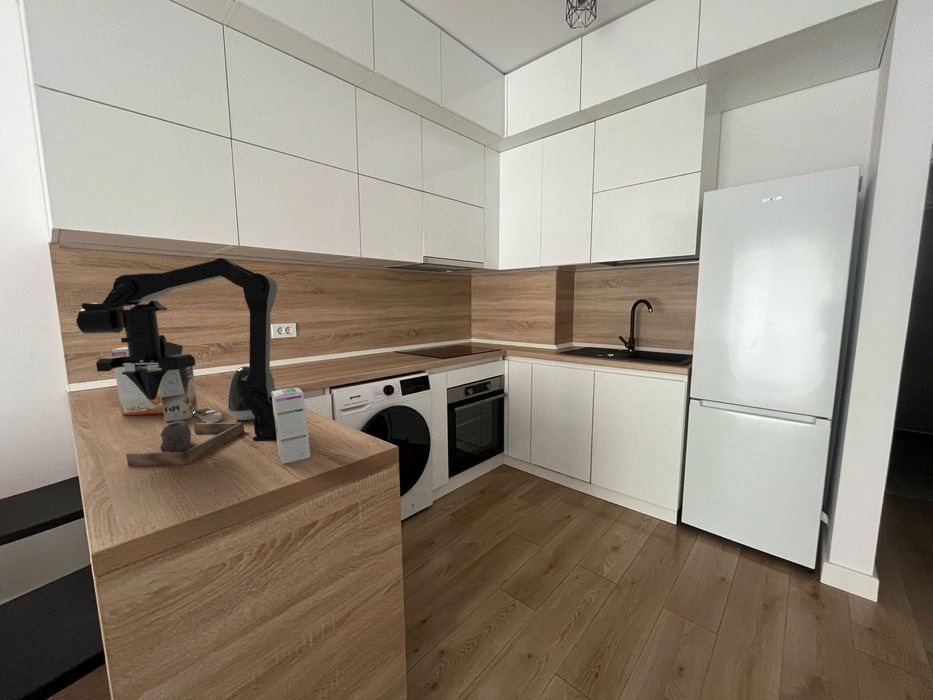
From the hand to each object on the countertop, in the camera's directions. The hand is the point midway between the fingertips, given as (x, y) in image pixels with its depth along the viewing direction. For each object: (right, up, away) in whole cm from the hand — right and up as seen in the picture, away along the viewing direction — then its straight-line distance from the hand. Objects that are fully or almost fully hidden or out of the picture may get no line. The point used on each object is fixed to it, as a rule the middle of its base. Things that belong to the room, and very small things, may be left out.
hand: (152, 399), depth 87 cm
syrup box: (+36, -12, -6) cm, 38 cm away
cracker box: (-27, -8, +32) cm, 43 cm away
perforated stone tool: (+7, -12, 0) cm, 14 cm away
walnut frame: (+8, -11, +1) cm, 14 cm away
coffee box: (-13, -9, +27) cm, 31 cm away
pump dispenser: (+10, -9, +23) cm, 26 cm away
